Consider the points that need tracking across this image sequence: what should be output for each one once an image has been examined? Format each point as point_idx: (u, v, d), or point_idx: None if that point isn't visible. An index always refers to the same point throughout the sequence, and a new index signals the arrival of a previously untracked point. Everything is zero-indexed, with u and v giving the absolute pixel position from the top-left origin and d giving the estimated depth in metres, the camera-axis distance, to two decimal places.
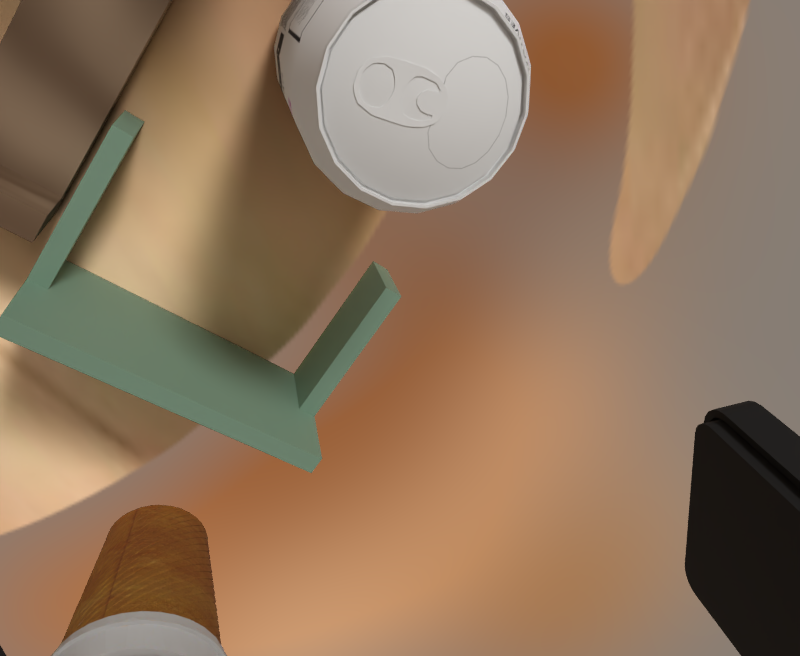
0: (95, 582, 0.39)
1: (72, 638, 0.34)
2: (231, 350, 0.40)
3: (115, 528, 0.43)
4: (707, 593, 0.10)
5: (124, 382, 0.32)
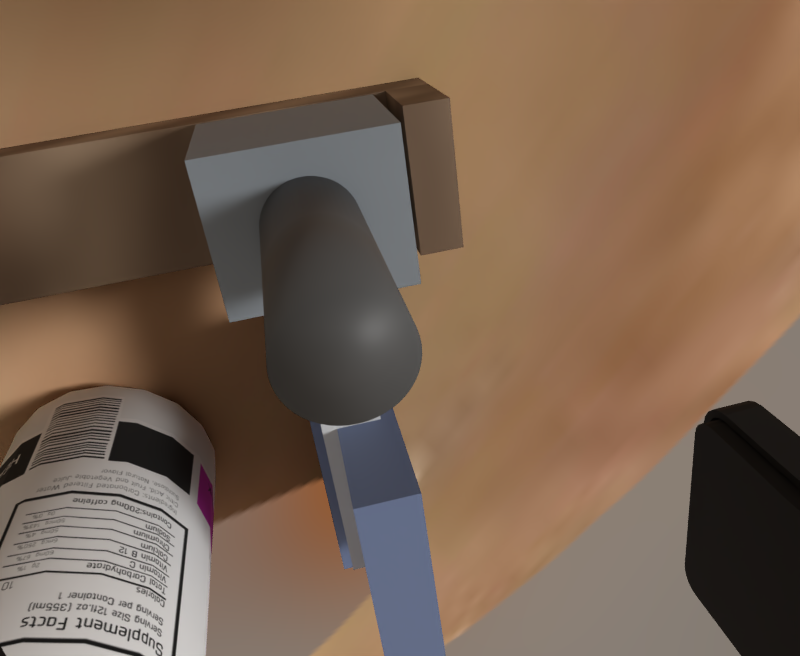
0: None
1: None
2: None
3: None
4: (707, 593, 0.10)
5: None
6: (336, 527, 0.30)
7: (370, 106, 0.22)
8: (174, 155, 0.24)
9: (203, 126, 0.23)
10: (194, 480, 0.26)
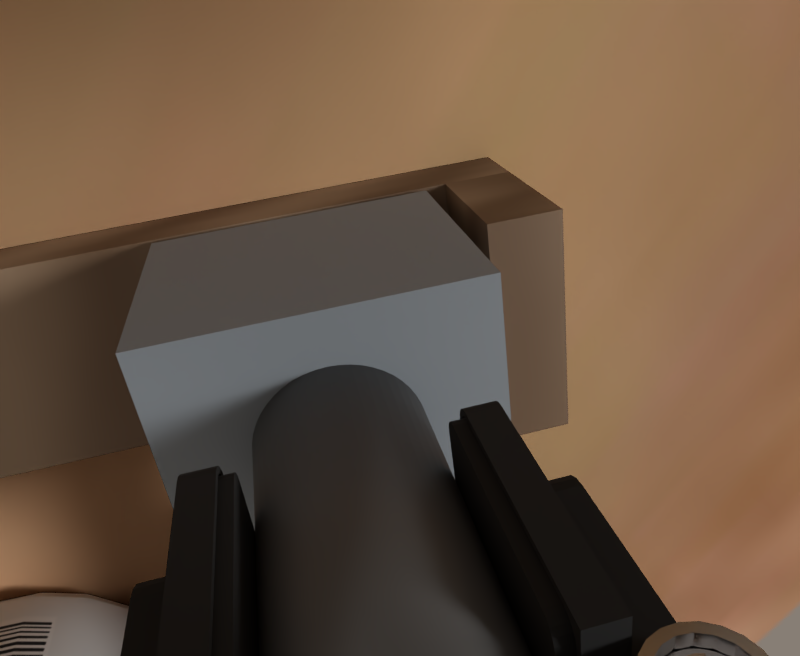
0: None
1: None
2: None
3: None
4: None
5: None
6: None
7: (431, 220, 0.14)
8: (119, 288, 0.15)
9: (162, 250, 0.14)
10: None
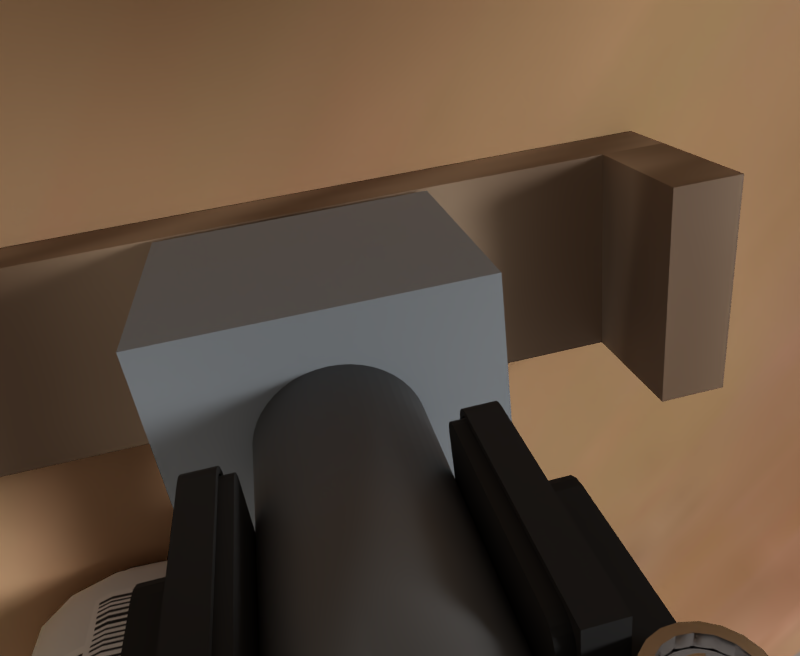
0: None
1: None
2: None
3: None
4: None
5: None
6: None
7: (432, 220, 0.14)
8: None
9: (163, 249, 0.14)
10: None
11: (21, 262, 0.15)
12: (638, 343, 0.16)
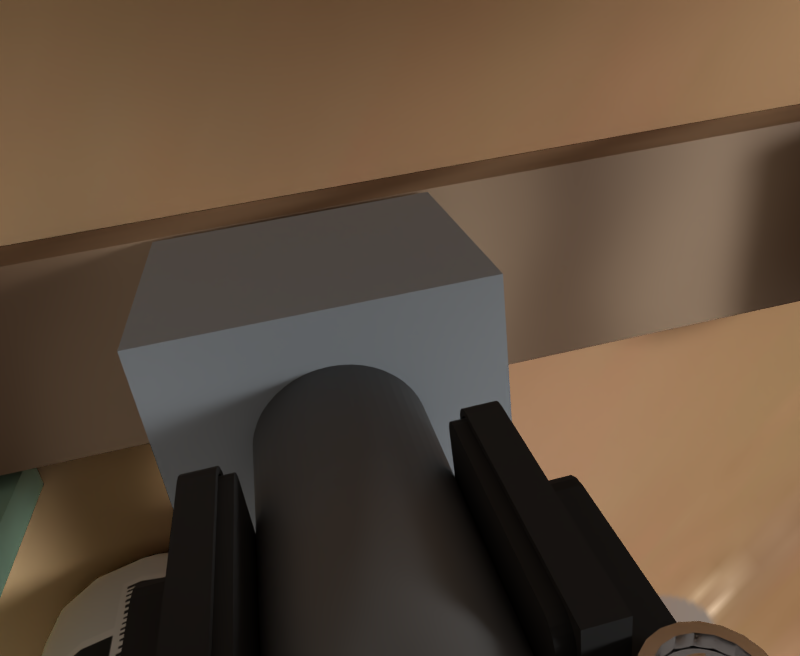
0: None
1: None
2: None
3: None
4: None
5: None
6: None
7: (433, 221, 0.14)
8: (580, 199, 0.17)
9: (163, 248, 0.14)
10: None
11: (344, 202, 0.16)
12: None
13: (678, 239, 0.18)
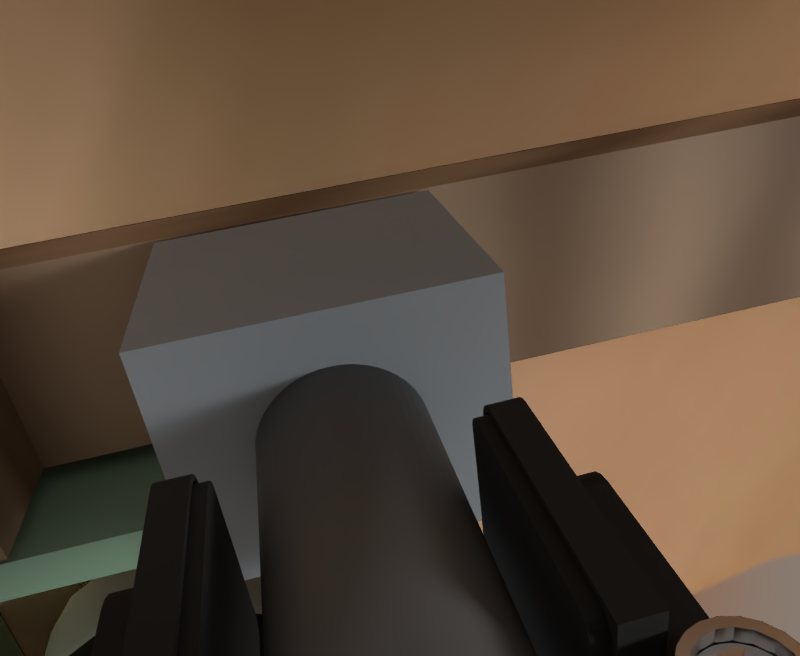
0: None
1: None
2: None
3: None
4: None
5: None
6: None
7: (434, 220, 0.14)
8: None
9: (165, 249, 0.14)
10: None
11: (587, 155, 0.16)
12: None
13: None
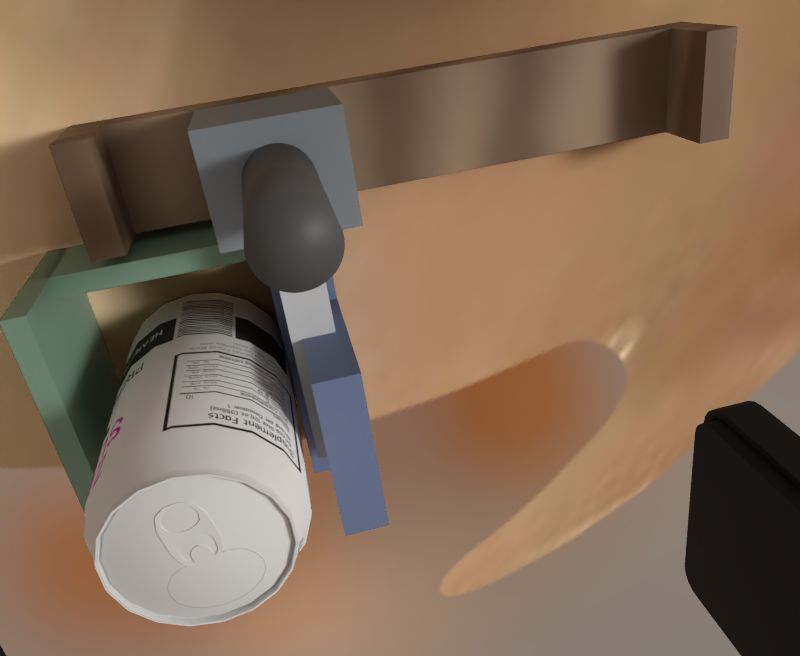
0: None
1: None
2: None
3: None
4: (707, 593, 0.10)
5: (62, 438, 0.30)
6: (307, 436, 0.37)
7: (324, 95, 0.30)
8: (525, 73, 0.33)
9: (200, 111, 0.30)
10: (287, 368, 0.34)
11: (410, 72, 0.32)
12: (687, 120, 0.34)
13: (577, 97, 0.34)
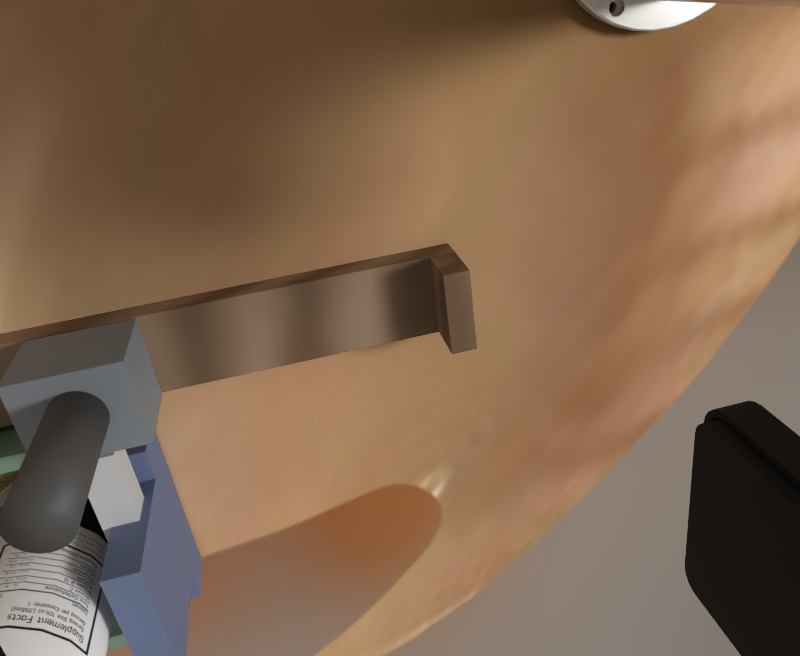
0: None
1: None
2: None
3: None
4: (707, 593, 0.10)
5: None
6: None
7: (124, 335, 0.37)
8: (307, 297, 0.41)
9: (26, 345, 0.38)
10: None
11: (207, 301, 0.40)
12: (445, 331, 0.41)
13: (355, 311, 0.42)
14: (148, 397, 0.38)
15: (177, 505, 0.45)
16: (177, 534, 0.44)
